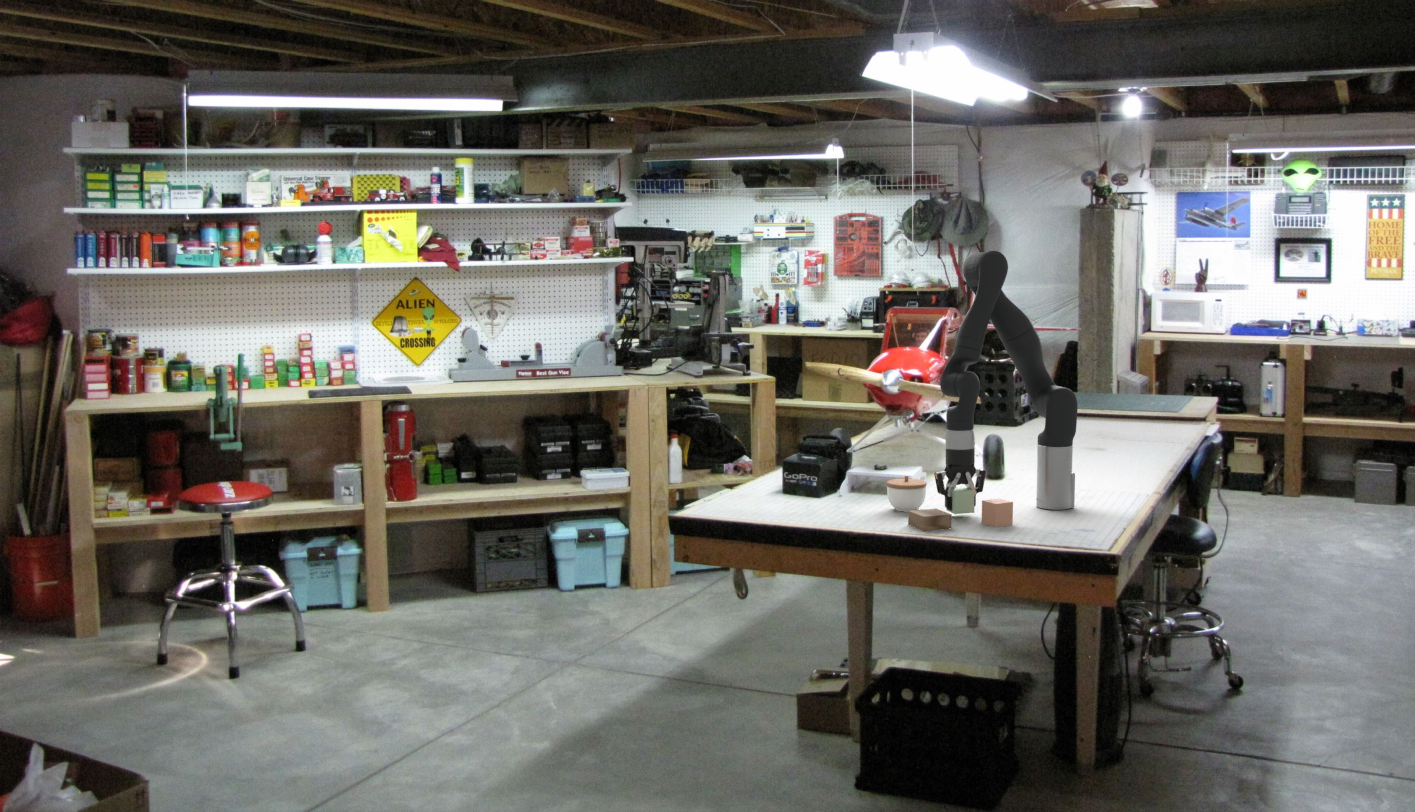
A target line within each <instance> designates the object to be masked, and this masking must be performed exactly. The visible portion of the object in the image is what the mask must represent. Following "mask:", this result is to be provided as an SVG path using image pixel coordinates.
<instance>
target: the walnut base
mask: <svg viewBox="0 0 1415 812" xmlns="http://www.w3.org/2000/svg"><path fill="white" fill-rule="evenodd" d="M907 513H908V514H907V516H908V517H907V520H908V521H907V522H908V523H907V525H908V526H909V525H911V526H910V527H912V526H913V527H912V528H914V527H915V528H914V529H916V528H917V529H916V530H919V529H920V530H919V531H921V530H922V532H932V530H933V531H941V530H940V529H944V530H950V529H949V528H951V529H952V520H953V519H952V517H953V516H952V514H953V513H949V512H948V511H947V512H946V511H943V510H942V509H938V508H928V509H926V508H925V509H918V510H912V511H908V512H907Z"/></svg>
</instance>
